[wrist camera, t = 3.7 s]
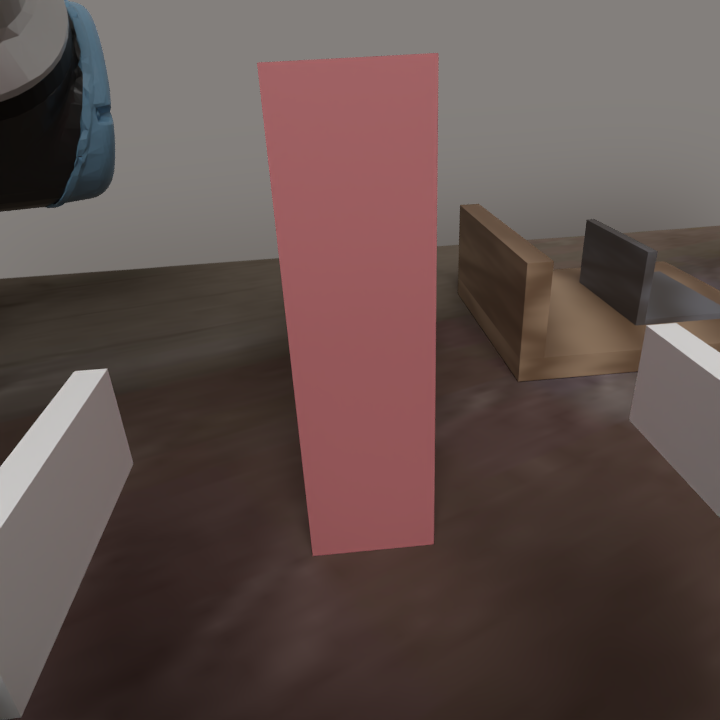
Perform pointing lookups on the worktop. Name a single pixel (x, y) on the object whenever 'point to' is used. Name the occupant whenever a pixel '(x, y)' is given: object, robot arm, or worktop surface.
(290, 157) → the tall pink pillar
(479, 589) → the worktop surface
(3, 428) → the worktop surface
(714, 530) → the worktop surface
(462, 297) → the l-shaped wooden stand
